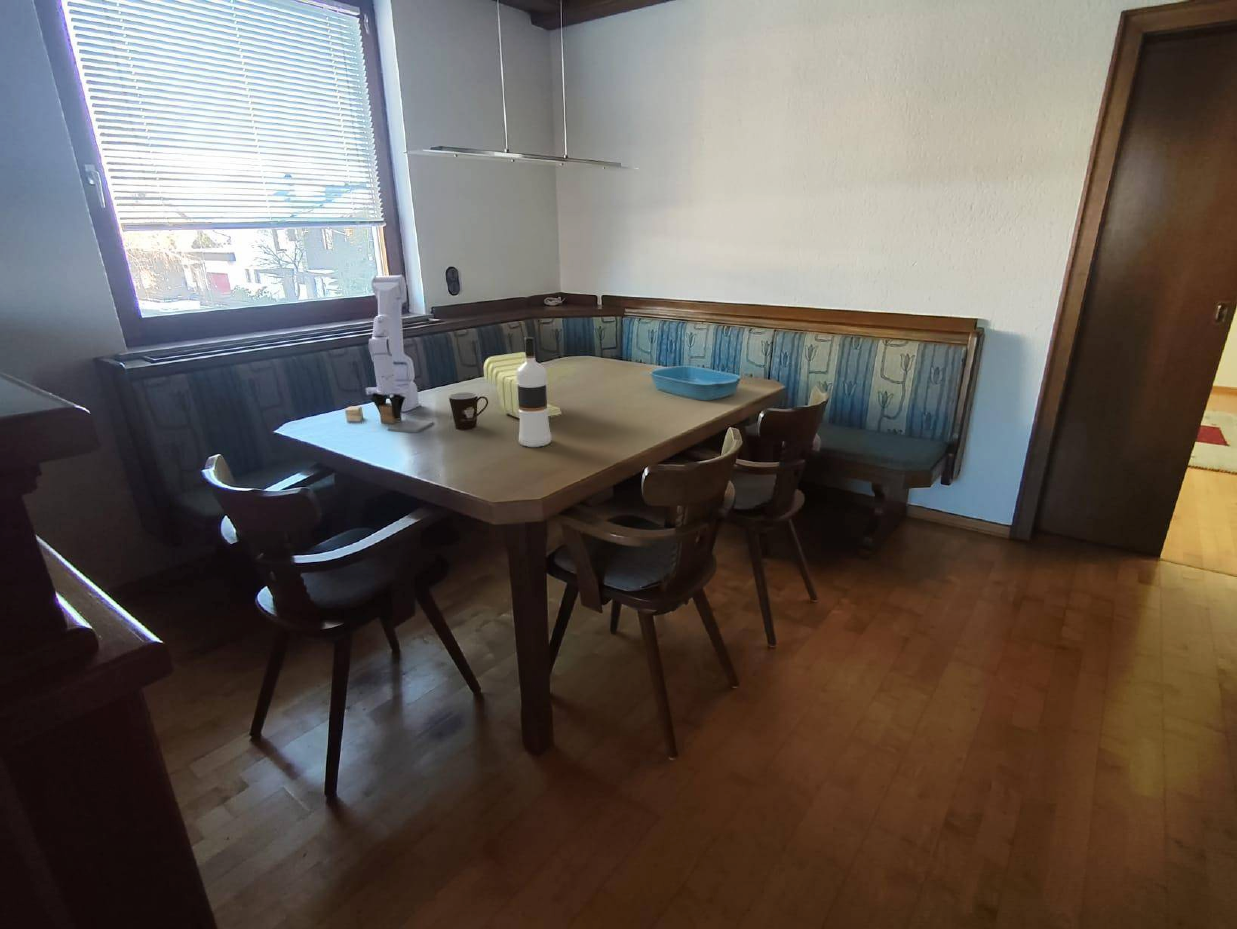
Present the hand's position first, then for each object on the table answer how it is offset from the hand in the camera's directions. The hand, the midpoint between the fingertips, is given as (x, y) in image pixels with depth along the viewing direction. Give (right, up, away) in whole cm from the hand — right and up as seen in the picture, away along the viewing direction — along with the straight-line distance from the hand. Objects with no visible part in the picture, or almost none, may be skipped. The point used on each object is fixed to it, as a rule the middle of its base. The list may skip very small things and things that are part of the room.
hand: (390, 417), depth 208 cm
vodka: (+49, -9, -22) cm, 55 cm away
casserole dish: (+101, +12, +34) cm, 107 cm away
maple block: (-13, -1, +3) cm, 13 cm away
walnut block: (0, -1, 0) cm, 1 cm away
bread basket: (+44, +1, +7) cm, 44 cm away
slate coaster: (+8, -3, -6) cm, 11 cm away
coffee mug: (+27, -4, -6) cm, 28 cm away
